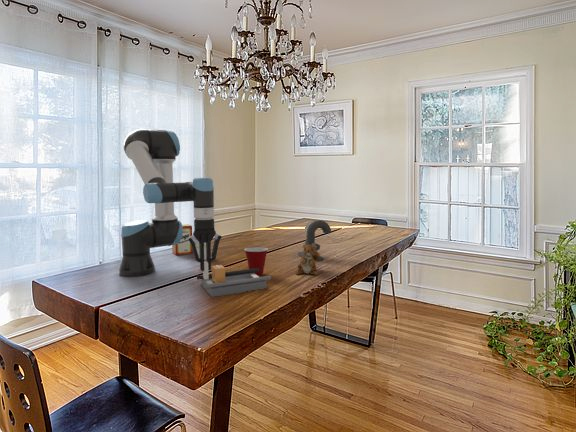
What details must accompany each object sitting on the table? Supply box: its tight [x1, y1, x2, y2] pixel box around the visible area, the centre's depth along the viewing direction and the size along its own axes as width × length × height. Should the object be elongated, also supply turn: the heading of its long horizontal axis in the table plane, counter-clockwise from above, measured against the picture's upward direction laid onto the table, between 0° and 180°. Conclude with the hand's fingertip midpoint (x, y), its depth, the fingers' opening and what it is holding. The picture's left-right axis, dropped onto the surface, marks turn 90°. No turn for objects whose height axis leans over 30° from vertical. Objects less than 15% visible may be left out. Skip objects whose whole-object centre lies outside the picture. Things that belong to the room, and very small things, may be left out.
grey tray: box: [196, 268, 272, 290], centre depth 152 cm, size 27×15×2 cm, turn 116°
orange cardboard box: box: [171, 224, 193, 257], centre depth 211 cm, size 10×6×16 cm
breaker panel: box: [200, 273, 267, 298], centre depth 153 cm, size 22×16×3 cm
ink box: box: [192, 238, 207, 261], centre depth 200 cm, size 9×5×12 cm, turn 56°
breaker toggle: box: [211, 264, 226, 283], centre depth 149 cm, size 4×5×6 cm
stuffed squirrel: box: [295, 243, 321, 276], centre depth 174 cm, size 10×14×13 cm
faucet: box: [297, 219, 332, 262], centre depth 202 cm, size 18×16×20 cm
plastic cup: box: [243, 247, 269, 277], centre depth 170 cm, size 11×11×12 cm
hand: (205, 278), depth 147 cm, fingers closed
